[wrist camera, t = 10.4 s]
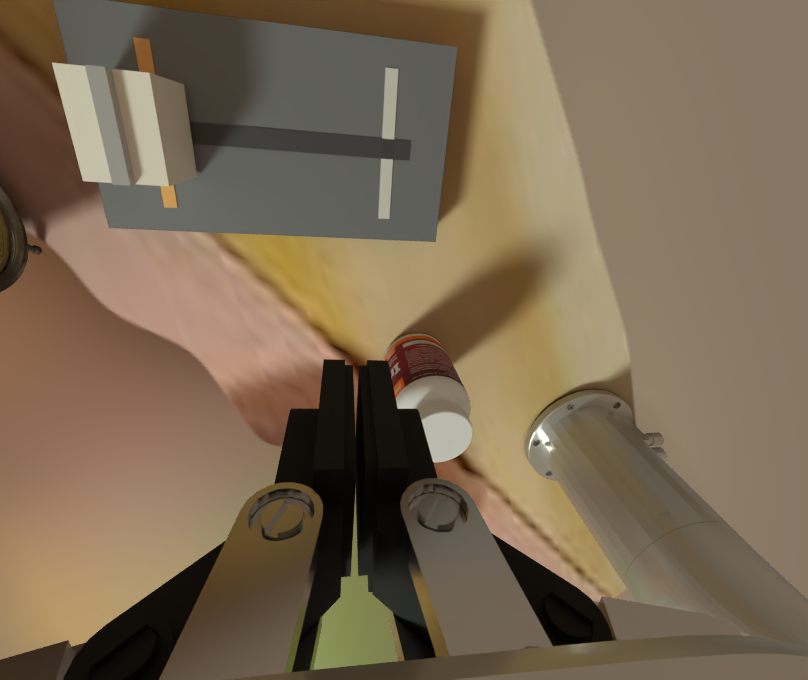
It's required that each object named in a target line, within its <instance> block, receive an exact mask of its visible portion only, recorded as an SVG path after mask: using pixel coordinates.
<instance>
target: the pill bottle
mask: <svg viewBox="0 0 808 680" xmlns="http://www.w3.org/2000/svg"><path fill="white" fill-rule="evenodd" d="M383 361H388V363H389V368H390V373H391V378H392V383H393V388H394V393H395V398H396V403H397V408H398V409H418V411H419V413H420V417H421V420H422V424H423V428H424V431H425V435H426V438H427V442H428V446H429V449H430V453H431V456H432V460H433V462H443V461H447V460H450V459H453V458H455V457H457V456H458V455H460V454H461V453H462V452H463V451H465V449H466V448H467V447H468V446H469V444H470V442H471V440H472V436H473V429H472V425H471V423H470V420H469V415H470V400H469V397H468V394H467V392H466V390H465V388H464V386H463V384H462V382H461V380H460V378H459V376H458V374H457V372H456V370H455V368H454V366H453V364H452V362H451V360H450V358H449V356H448V354H447V352H446V350H445V349H444V347H443V346H442V344H441V343H440V342H439V341H438V340H437V339H435V338H434V337H432V336H429V335H427V334H421V333H415V334H409V335H405V336H403V337H401V338H399V339H397V340H396V341H395V342H393V343H392V344H391V345H390V347H389V348H388V349H387V351H386V353H385V355H384V359H383Z"/></svg>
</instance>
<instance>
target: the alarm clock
mask: <svg viewBox="0 0 808 680" xmlns="http://www.w3.org/2000/svg"><path fill="white" fill-rule="evenodd" d="M28 252H31V253H32V254H35V255H38V254H40V253H41V252H42V249H41V248H40V247H38V246H35V245H34V246H30V245H29V244H28V241H27V236H26V232H25V228H24V225H23V223H22V220H21V218H20V216H19V213H18V211H17V209H16V207H15V205H14V204H13V202H12V201H11V199H10V198H9V196H8V195H7V193H6V192H5V191H4V189H3V188H2V187H1V186H0V292H1V291H3V290H5V289H7V288H8V287H10V286H11V285H12V284H14V283H15V282H16V280H18V278H19V277H20V276H21V274H22V272H23V270H24V268H25V266H26V263H27V259H28Z"/></svg>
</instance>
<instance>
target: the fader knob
mask: <svg viewBox="0 0 808 680" xmlns="http://www.w3.org/2000/svg"><path fill="white" fill-rule="evenodd" d="M52 65H53V69H54V73H55V77H56V80H57V84H58V88H59V92H60V96H61V99H62V103H63V107H64V111H65V115H66V118H67V122H68V126H69V130H70V134H71V137H72V141H73V145H74V149H75V153H76V156H77V160H78V164H79V168H80V171H81V175H82V179H83V181H87V182H104V183H112V184H113V185H126V186H131V185H135V184H137V185H153V186H172V185H175V184H178V183H181V182H184V181H187V180H190V179H193V178H197V172H196V165H195V158H194V151H193V144H192V137H191V130H190V123H189V116H188V109H187V102H186V95H185V88H184V84H181V83H178V82H175V81H172V80H169V79H166V78H163V77H160V76H157V75H154V74H151V73H146V72H137V71H128V70H118V69H110V68H107V67H101V66H92V65H85V66H80V65H71V64H62V63H52Z"/></svg>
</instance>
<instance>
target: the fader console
mask: <svg viewBox="0 0 808 680" xmlns="http://www.w3.org/2000/svg"><path fill="white" fill-rule="evenodd" d="M52 1H53V5H54V9H55V13H56V17H57V21H58V25H59V29H60V33H61V37H62V41H63V45H64V50H65V54H66V58H67V62H68V64H71V65H80V66H85V65H92V66H101V67H107V68H110V69H118V70H128V71H137V72H146V73H151V74H154V75H157V76H160V77H163V78H166V79H169V80H172V81H175V82H178V83H181V84H184V88H185V95H186V102H187V109H188V116H189V123H190V130H191V137H192V144H193V151H194V158H195V165H196V172H197V178H193V179H190V180H187V181H184V182H181V183H178V184H175V185H172V186H153V185H137V184H135V185H131V186H126V185H113V184H112V183H104V182H98V186H99V190H100V194H101V198H102V202H103V206H104V210H105V214H106V218H107V222H108V226H109V228H122V229H145V230H169V231H192V232H216V233H240V234H263V235H287V236H310V237H334V238H358V239H381V240H405V241H428V242H436V233H437V225H438V216H439V207H440V198H441V189H442V181H443V172H444V163H445V154H446V145H447V137H448V128H449V119H450V110H451V101H452V93H453V84H454V75H455V66H456V58H457V49H458V47H454V46H447V45H439V44H432V43H424V42H417V41H409V40H402V39H394V38H387V37H379V36H372V35H364V34H357V33H349V32H342V31H334V30H327V29H319V28H312V27H304V26H297V25H289V24H281V23H274V22H266V21H259V20H251V19H244V18H236V17H229V16H221V15H214V14H206V13H199V12H191V11H184V10H176V9H169V8H161V7H154V6H146V5H139V4H131V3H124V2H116V1H109V0H52Z"/></svg>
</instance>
